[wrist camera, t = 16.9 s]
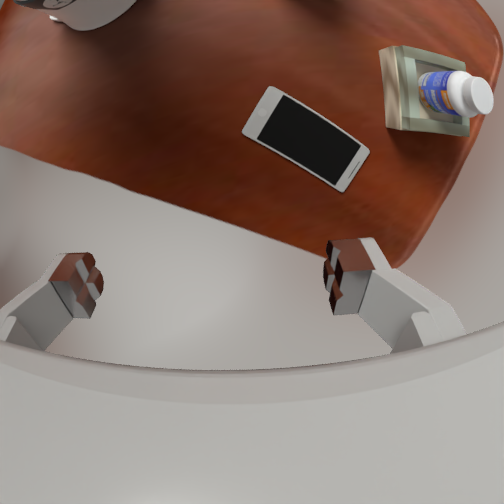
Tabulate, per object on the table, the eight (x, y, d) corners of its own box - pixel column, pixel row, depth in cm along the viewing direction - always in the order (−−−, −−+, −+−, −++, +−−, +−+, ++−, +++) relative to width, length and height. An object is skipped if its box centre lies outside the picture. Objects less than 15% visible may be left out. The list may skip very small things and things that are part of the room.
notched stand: (378, 50, 25) (400, 43, 20) (440, 63, 25) (465, 61, 19) (385, 127, 30) (408, 131, 25) (445, 132, 30) (470, 138, 25)
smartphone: (269, 85, 29) (269, 84, 28) (368, 149, 33) (371, 150, 32) (240, 132, 32) (240, 133, 31) (340, 191, 36) (343, 193, 35)
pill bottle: (409, 93, 25) (459, 95, 16) (425, 64, 22) (475, 60, 14) (436, 120, 26) (487, 132, 17) (451, 92, 24) (502, 97, 15)
